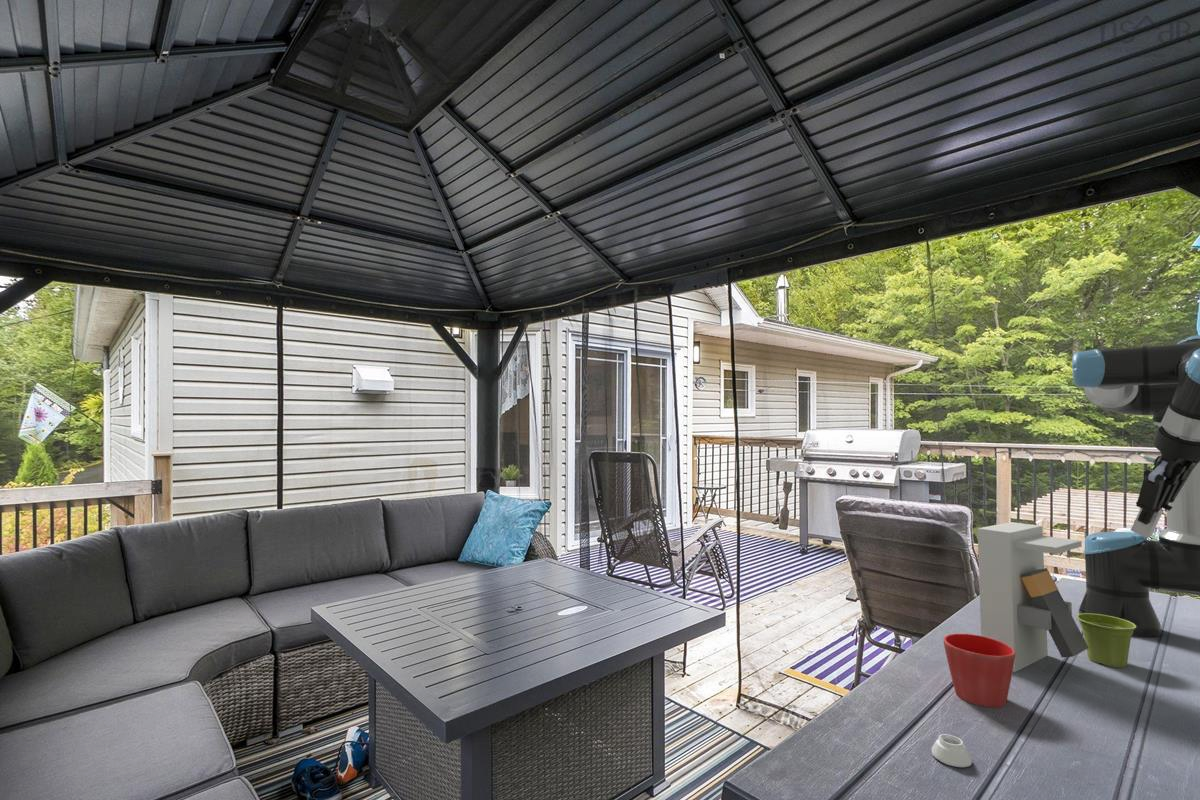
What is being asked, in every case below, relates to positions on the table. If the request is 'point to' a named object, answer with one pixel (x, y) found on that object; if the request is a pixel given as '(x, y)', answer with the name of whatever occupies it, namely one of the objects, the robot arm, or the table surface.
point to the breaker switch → (1055, 612)
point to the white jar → (951, 751)
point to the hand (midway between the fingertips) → (1140, 532)
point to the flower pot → (980, 668)
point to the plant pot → (1107, 638)
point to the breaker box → (1015, 587)
